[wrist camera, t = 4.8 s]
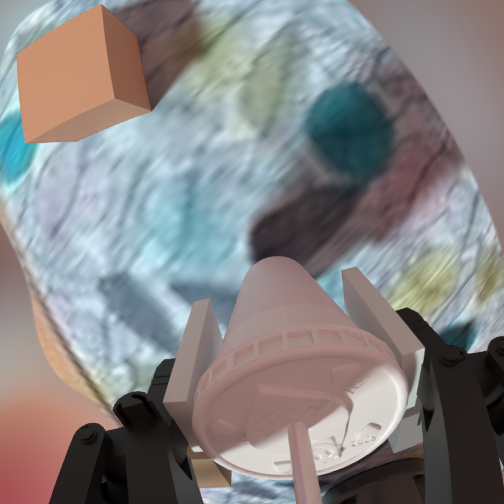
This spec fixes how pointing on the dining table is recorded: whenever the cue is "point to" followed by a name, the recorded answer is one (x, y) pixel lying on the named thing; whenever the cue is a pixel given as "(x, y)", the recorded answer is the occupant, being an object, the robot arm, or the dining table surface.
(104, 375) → the dining table surface
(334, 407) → the smoothie
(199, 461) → the walnut block
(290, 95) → the dining table surface
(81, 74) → the terracotta block
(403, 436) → the grey cube
